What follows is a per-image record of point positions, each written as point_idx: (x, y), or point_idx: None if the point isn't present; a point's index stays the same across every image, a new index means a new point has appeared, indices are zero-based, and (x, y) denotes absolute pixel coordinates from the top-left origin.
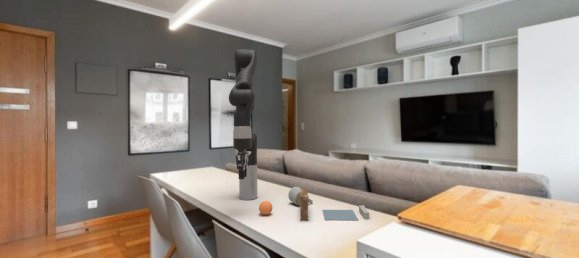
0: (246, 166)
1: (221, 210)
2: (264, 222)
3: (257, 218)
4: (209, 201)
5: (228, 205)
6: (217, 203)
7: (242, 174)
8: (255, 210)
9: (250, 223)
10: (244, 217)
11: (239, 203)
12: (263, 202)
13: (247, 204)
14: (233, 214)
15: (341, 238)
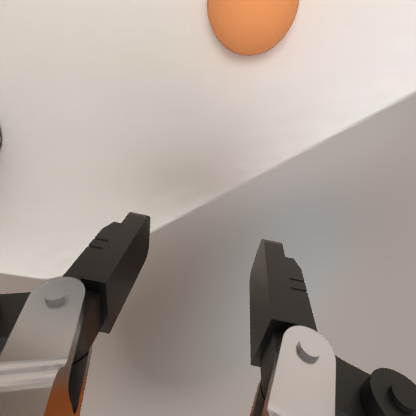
0: (82, 309)
1: (160, 225)
2: (386, 20)
3: (304, 64)
4: (50, 266)
5: (92, 204)
6: (70, 241)
7: (305, 293)
8: (168, 77)
9: (368, 102)
10: (270, 133)
11: (57, 160)
12: (266, 15)
13: (68, 122)
14: (217, 180)
15: None
